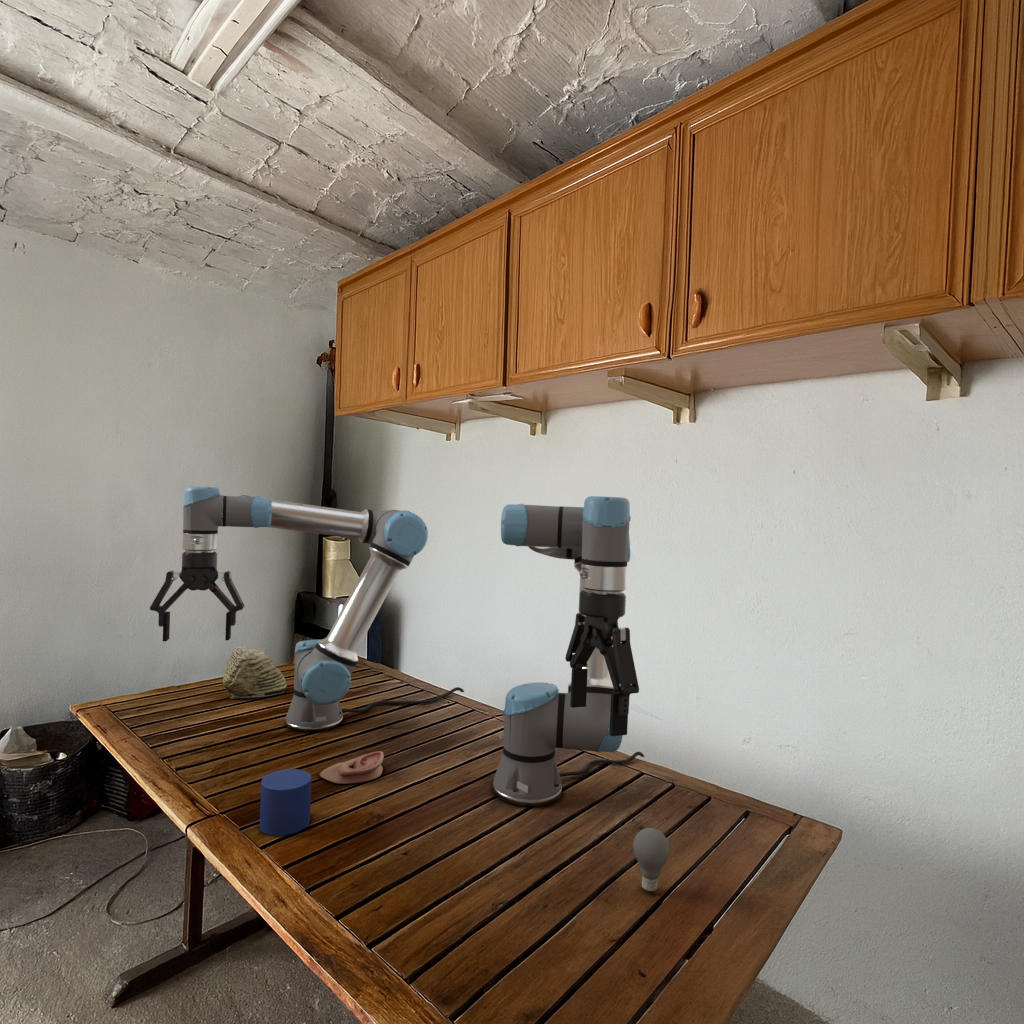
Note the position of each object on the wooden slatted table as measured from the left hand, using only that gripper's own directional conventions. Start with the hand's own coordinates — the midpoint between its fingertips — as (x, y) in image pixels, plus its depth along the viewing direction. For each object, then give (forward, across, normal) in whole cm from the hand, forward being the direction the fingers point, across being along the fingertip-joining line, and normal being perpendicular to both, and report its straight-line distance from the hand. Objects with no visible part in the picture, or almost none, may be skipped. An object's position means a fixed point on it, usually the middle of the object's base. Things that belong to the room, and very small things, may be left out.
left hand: (197, 639), depth 152 cm
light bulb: (+28, +85, -69) cm, 113 cm away
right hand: (-1, +74, -69) cm, 101 cm away
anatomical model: (+28, +37, -17) cm, 49 cm away
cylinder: (+28, +24, -37) cm, 52 cm away
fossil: (+28, +8, +46) cm, 54 cm away
